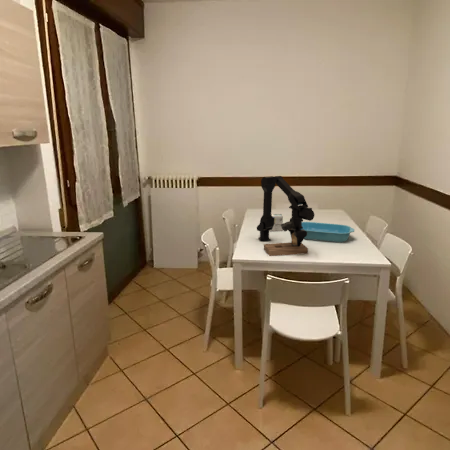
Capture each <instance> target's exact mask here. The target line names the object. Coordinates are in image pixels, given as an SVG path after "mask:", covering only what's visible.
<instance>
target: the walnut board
mask: <svg viewBox="0 0 450 450" xmlns="http://www.w3.org/2000/svg"><path fill="white" fill-rule="evenodd" d="M263 250H264V251H265V253H266V254H267V255H268V256H269V257H272V256H273V257H274V256H275V257H276V256H278V257H279V256H291V255H293V256H294V255H305V254H306V255H307V254H309V252H308V251H309V248H308V247H307V246H306V245H305V244H303V242H302V243H301V245H300V246H299V247H293V246H292V245H291V242H278V243H264V244H263Z"/></svg>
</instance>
